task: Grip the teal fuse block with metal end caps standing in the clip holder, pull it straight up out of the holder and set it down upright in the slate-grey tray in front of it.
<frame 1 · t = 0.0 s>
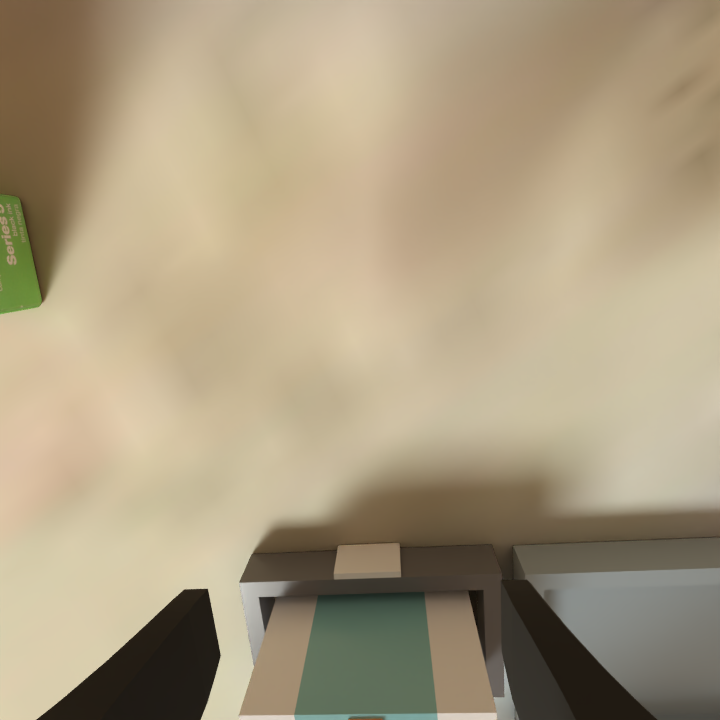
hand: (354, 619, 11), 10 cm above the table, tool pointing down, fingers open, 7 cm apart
clip holder: (374, 607, 23), on the table
tray: (654, 633, 22), on the table
fuse: (372, 671, 19), in the clip holder
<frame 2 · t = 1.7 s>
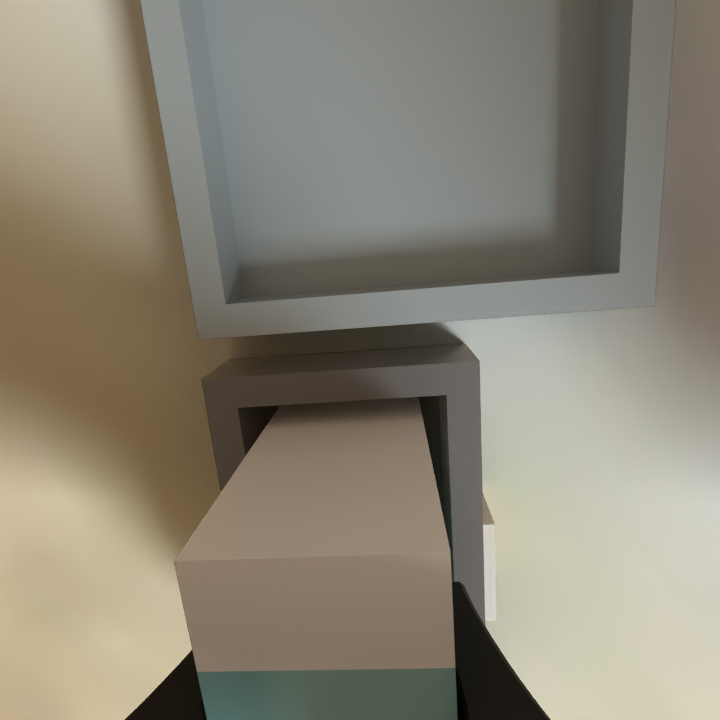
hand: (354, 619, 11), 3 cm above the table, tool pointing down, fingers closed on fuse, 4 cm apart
clip holder: (361, 533, 14), on the table
tray: (397, 32, 11), on the table
fuse: (353, 624, 11), in the clip holder, touching gripper
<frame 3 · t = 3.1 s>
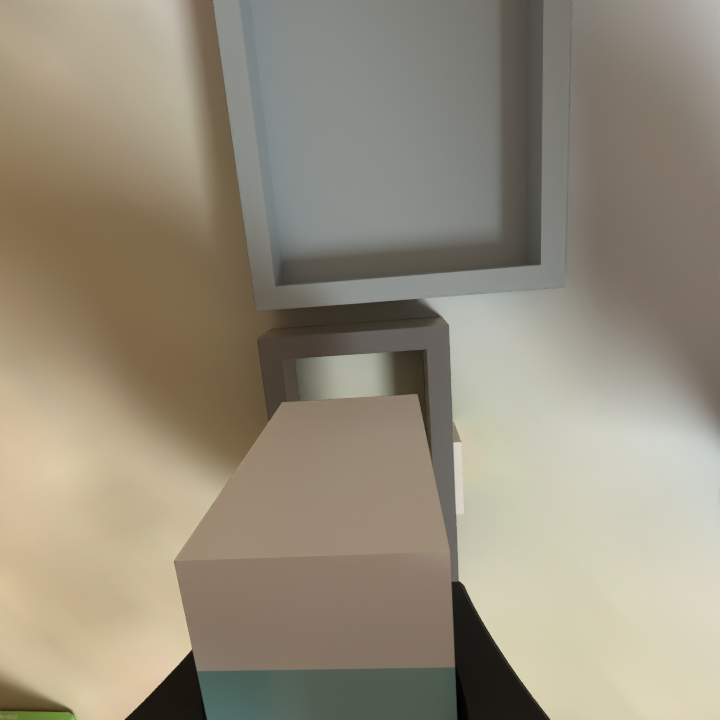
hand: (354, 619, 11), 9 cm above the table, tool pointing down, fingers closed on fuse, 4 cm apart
clip holder: (367, 459, 19), on the table
tray: (392, 99, 16), on the table
fuse: (353, 624, 11), point 9 cm above the table, touching gripper
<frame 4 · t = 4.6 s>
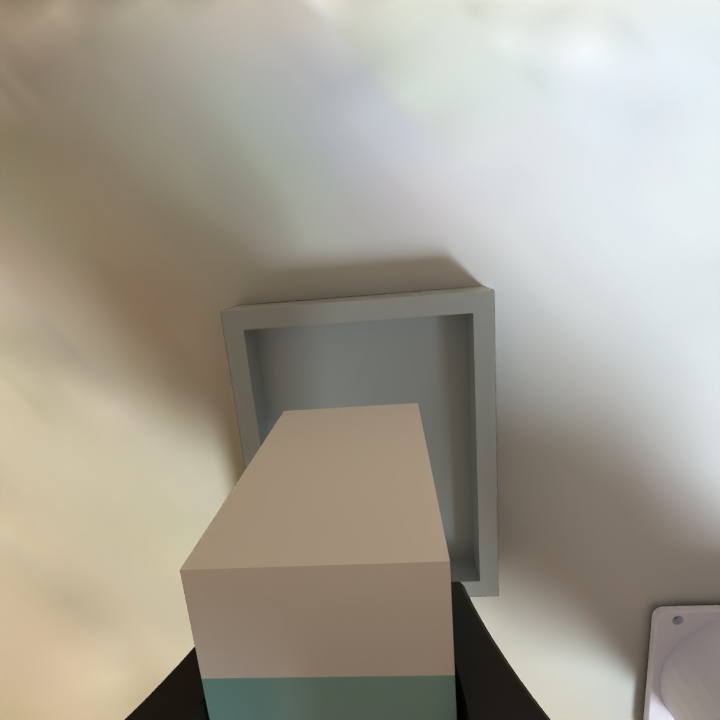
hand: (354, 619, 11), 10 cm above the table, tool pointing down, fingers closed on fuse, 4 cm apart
tray: (370, 442, 21), on the table
fuse: (354, 631, 11), point 10 cm above the table, touching gripper
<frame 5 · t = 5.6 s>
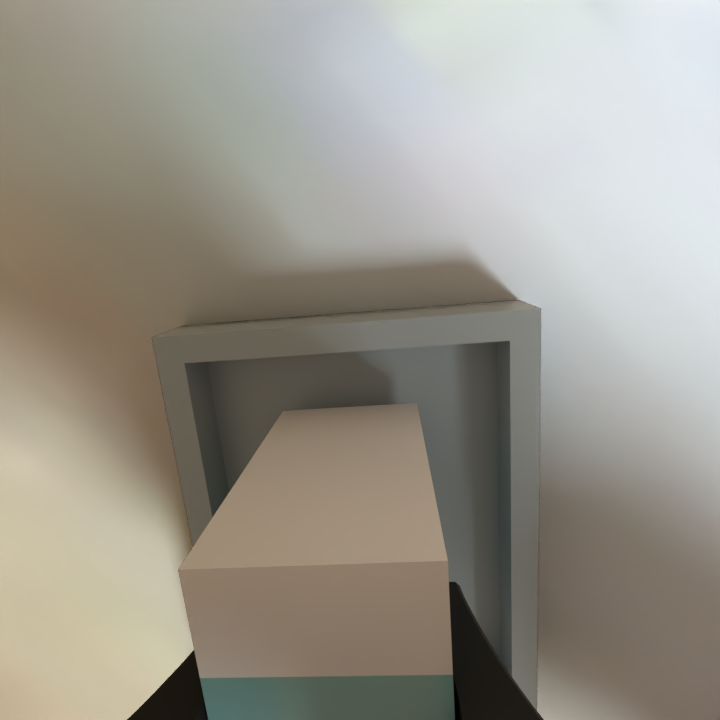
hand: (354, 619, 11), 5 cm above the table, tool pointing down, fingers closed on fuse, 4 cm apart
tray: (364, 506, 16), on the table
fuse: (353, 631, 11), point 5 cm above the table, touching gripper
when the fingers open (5 cm above the table, at t = 5.9 s): fuse stays where it is, resting on tray.
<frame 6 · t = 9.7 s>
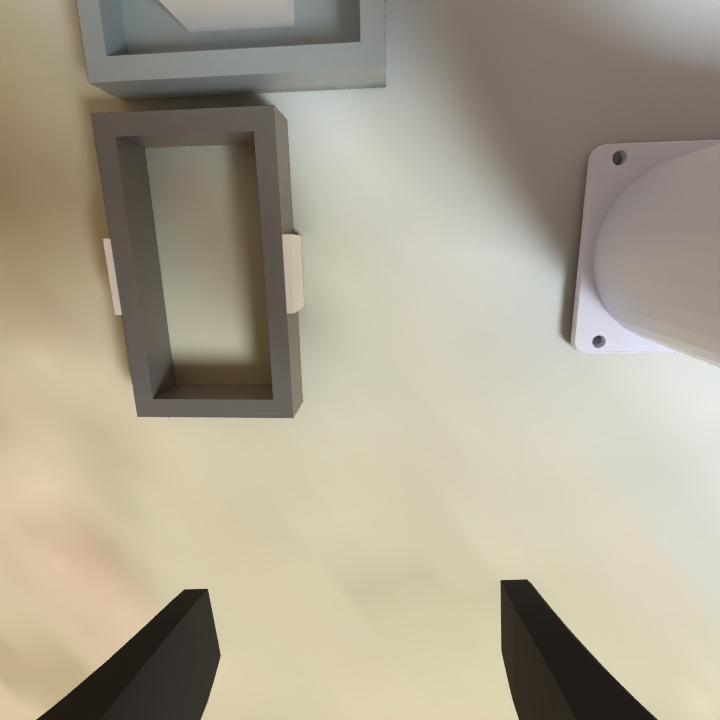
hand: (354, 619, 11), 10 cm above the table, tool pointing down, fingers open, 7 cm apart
clip holder: (218, 272, 20), on the table
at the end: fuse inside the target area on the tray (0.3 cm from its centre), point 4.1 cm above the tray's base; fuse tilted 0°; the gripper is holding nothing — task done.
